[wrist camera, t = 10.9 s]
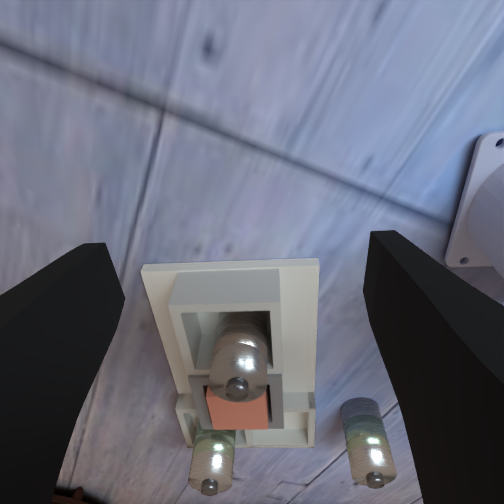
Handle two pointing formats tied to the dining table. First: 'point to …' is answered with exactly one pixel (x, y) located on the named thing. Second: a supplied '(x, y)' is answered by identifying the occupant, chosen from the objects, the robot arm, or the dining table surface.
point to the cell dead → (240, 356)
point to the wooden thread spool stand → (68, 503)
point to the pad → (238, 413)
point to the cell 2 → (367, 443)
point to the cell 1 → (212, 460)
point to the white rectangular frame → (278, 338)
